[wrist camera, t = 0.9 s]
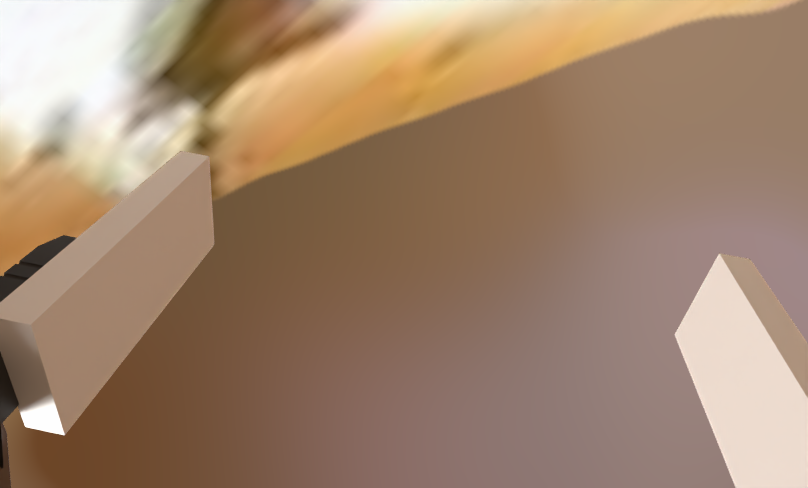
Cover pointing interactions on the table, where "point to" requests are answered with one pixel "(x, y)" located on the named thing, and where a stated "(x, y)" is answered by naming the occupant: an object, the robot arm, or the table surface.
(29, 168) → the table surface
